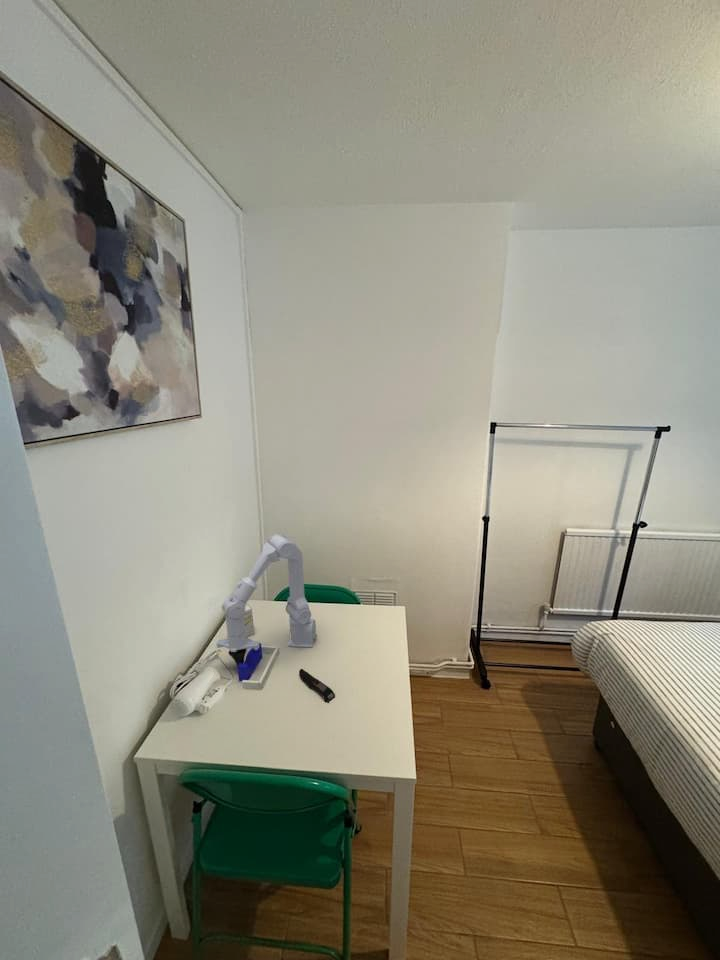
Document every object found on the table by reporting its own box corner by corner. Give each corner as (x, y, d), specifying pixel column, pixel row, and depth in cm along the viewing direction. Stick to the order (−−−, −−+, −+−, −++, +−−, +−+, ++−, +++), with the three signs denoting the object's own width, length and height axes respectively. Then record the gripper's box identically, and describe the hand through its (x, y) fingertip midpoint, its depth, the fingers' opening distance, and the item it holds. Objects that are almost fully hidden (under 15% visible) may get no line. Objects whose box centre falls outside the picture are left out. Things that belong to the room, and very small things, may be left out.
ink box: (250, 628, 153) (247, 602, 150) (255, 634, 149) (252, 607, 146) (229, 637, 148) (225, 610, 145) (234, 643, 144) (230, 616, 141)
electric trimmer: (305, 673, 128) (305, 665, 127) (336, 697, 118) (335, 688, 117) (296, 679, 126) (296, 671, 125) (327, 704, 115) (326, 696, 114)
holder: (279, 652, 138) (278, 646, 137) (261, 689, 121) (260, 683, 121) (262, 651, 139) (261, 645, 138) (242, 688, 122) (241, 681, 121)
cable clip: (250, 656, 137) (249, 642, 135) (262, 657, 136) (261, 643, 134) (234, 681, 125) (232, 665, 124) (247, 682, 124) (245, 667, 123)
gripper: (210, 637, 124) (215, 672, 128) (252, 639, 123) (256, 675, 126) (220, 624, 131) (225, 657, 135) (260, 626, 129) (263, 660, 133)
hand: (240, 665), depth 131 cm, fingers closed
